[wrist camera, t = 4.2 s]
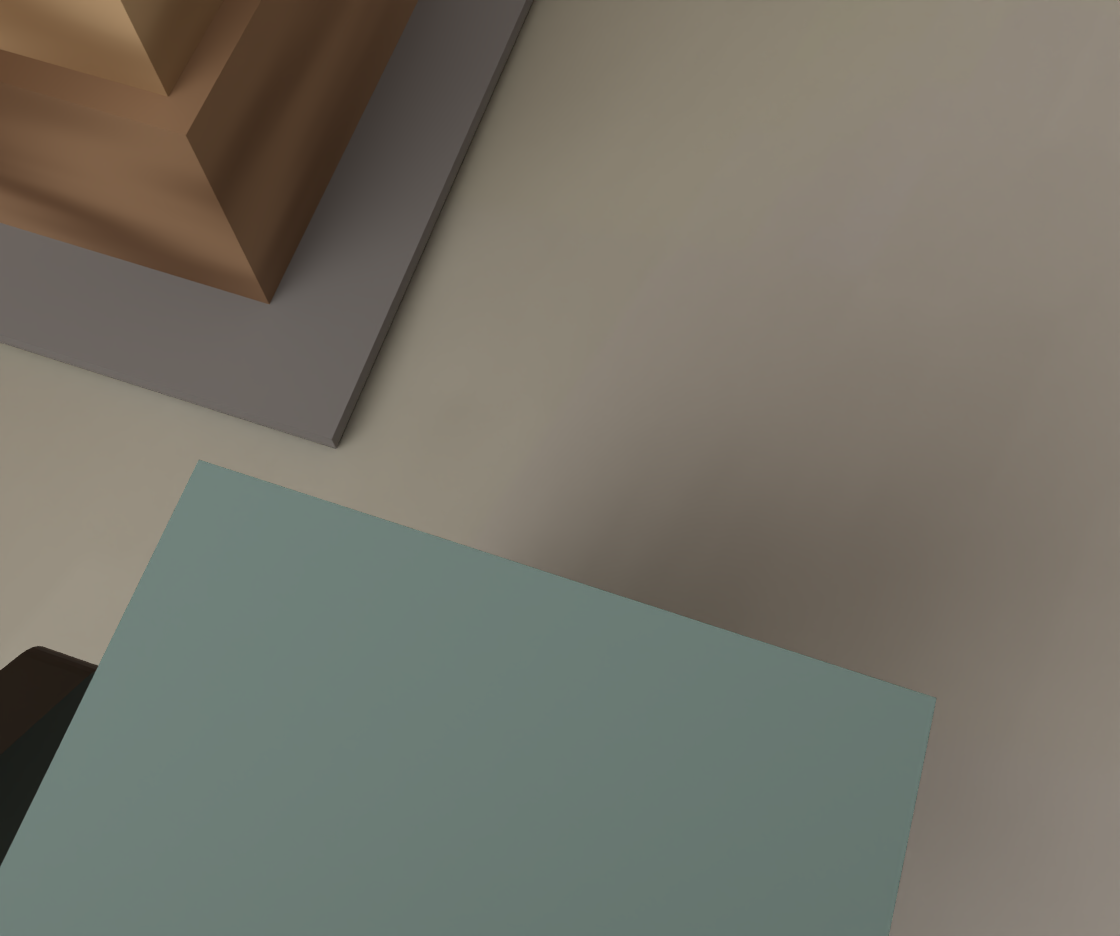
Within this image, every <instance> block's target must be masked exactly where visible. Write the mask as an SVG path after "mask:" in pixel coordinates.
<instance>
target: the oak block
mask: <svg viewBox="0 0 1120 936" xmlns="http://www.w3.org/2000/svg"><path fill="white" fill-rule="evenodd" d="M223 1H224V0H0V49H1V50H5V51H8V52H12V53H15V54H19V55H22V56H26V57H29V58H33V59H36V60H40V61H44V62H47V63H51V64H54V65H58V66H61V67H65V68H68V69H72V70H75V71H79V72H82V73H86V74H89V75H93V76H96V77H100V78H103V79H107V80H110V81H114V82H117V83H121V84H124V85H128V86H131V87H135V88H139V89H142V90H146V91H149V92H153V93H156V94H160V95H163V96H167V97H168V96H169V95H170V93H171V91H172V89H173V88H174V86H175V84H176V82H177V81H178V79H179V77H180V75H181V74H182V72H183V70H184V68H185V67H186V65H187V63H188V62H189V60H190V58H191V56H192V55H193V53H194V51H195V49H196V48H197V46H198V44H199V42H200V41H201V39H202V37H203V35H204V34H205V32H206V30H207V28H208V27H209V25H210V23H211V22H212V20H213V18H214V16H215V15H216V13H217V11H218V9H219V8H220V6H221V4H222V2H223Z"/></svg>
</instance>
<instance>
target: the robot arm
mask: <svg viewBox="0 0 1120 936" xmlns="http://www.w3.org/2000/svg"><path fill="white" fill-rule="evenodd" d="M97 668H98V666H97V665H94V664H92V663H89V662H86V661H83V660H80V659H77V658H74V657H71V656H68V655H66V654H63V653H60V652H57V651H54V650H51V649H48V648H45V647H43V646H37V647H32V648H30V649H28V650H26V651H25V652H23V653H22V654H20V655H19V656H18V657H17V658H15V659H14V660H13V661H12V662H10V663H9V664H8V665H7V666H5V667H4V668H3V669H2V670H0V866H1V864H2V862H3V860H4V858H5V856H6V854H7V852H8V850H9V848H10V846H11V844H12V842H13V840H14V838H15V836H16V834H17V832H18V830H19V828H20V825H21V823H22V821H23V819H24V817H25V815H26V813H27V811H28V809H29V807H30V805H31V803H32V801H33V799H34V797H35V795H36V793H37V791H38V789H39V787H40V784H41V782H42V780H43V778H44V776H45V774H46V772H47V770H48V768H49V766H50V764H51V762H52V760H53V758H54V756H55V754H56V752H57V750H58V748H59V746H60V744H61V741H62V739H63V737H64V735H65V733H66V731H67V729H68V727H69V725H70V723H71V721H72V719H73V717H74V715H75V713H76V711H77V709H78V707H79V705H80V703H81V700H82V698H83V696H84V694H85V692H86V690H87V688H88V686H89V684H90V682H91V680H92V678H93V676H94V674H95V672H96V670H97Z"/></svg>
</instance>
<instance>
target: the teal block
mask: <svg viewBox="0 0 1120 936" xmlns="http://www.w3.org/2000/svg"><path fill="white" fill-rule="evenodd" d="M935 703H936V698H935V697H932V696H929V695H926V694H923V693H920V692H916V691H913V690H910V689H907V688H904V687H901V686H898V685H895V684H892V683H889V682H886V681H882V680H879V679H876V678H873V677H870V676H867V675H864V674H861V673H858V672H855V671H851V670H848V669H845V668H842V667H839V666H836V665H833V664H830V663H827V662H824V661H821V660H817V659H814V658H811V657H808V656H805V655H802V654H799V653H796V652H793V651H790V650H786V649H783V648H780V647H777V646H774V645H771V644H768V643H765V642H762V641H759V640H756V639H752V638H749V637H746V636H743V635H740V634H737V633H734V632H731V631H728V630H725V629H721V628H718V627H715V626H712V625H709V624H706V623H703V622H700V621H697V620H694V619H691V618H687V617H684V616H681V615H678V614H675V613H672V612H669V611H666V610H663V609H660V608H656V607H653V606H650V605H647V604H644V603H641V602H638V601H635V600H632V599H629V598H626V597H622V596H619V595H616V594H613V593H610V592H607V591H604V590H601V589H598V588H595V587H591V586H588V585H585V584H582V583H579V582H576V581H573V580H570V579H567V578H564V577H561V576H557V575H554V574H551V573H548V572H545V571H542V570H539V569H536V568H533V567H530V566H526V565H523V564H520V563H517V562H514V561H511V560H508V559H505V558H502V557H499V556H496V555H492V554H489V553H486V552H483V551H480V550H477V549H474V548H471V547H468V546H465V545H462V544H458V543H455V542H452V541H449V540H446V539H443V538H440V537H437V536H434V535H431V534H427V533H424V532H421V531H418V530H415V529H412V528H409V527H406V526H403V525H400V524H397V523H393V522H390V521H387V520H384V519H381V518H378V517H375V516H372V515H369V514H366V513H362V512H359V511H356V510H353V509H350V508H347V507H344V506H341V505H338V504H335V503H332V502H328V501H325V500H322V499H319V498H316V497H313V496H310V495H307V494H304V493H301V492H297V491H294V490H291V489H288V488H285V487H282V486H279V485H276V484H273V483H270V482H267V481H263V480H260V479H257V478H254V477H251V476H248V475H245V474H242V473H239V472H236V471H232V470H229V469H226V468H223V467H220V466H217V465H214V464H211V463H208V462H205V461H202V460H199V461H198V463H197V465H196V467H195V469H194V471H193V473H192V475H191V477H190V479H189V481H188V483H187V485H186V487H185V489H184V491H183V493H182V495H181V498H180V500H179V502H178V504H177V506H176V508H175V510H174V512H173V514H172V516H171V518H170V520H169V522H168V524H167V526H166V528H165V530H164V532H163V534H162V536H161V539H160V541H159V543H158V545H157V547H156V549H155V551H154V553H153V555H152V557H151V559H150V561H149V563H148V565H147V567H146V569H145V571H144V573H143V575H142V577H141V580H140V582H139V584H138V586H137V588H136V590H135V592H134V594H133V596H132V598H131V600H130V602H129V604H128V606H127V608H126V610H125V612H124V614H123V616H122V618H121V621H120V623H119V625H118V627H117V629H116V631H115V633H114V635H113V637H112V639H111V641H110V643H109V645H108V647H107V649H106V651H105V653H104V655H103V657H102V659H101V662H100V664H99V666H98V668H97V670H96V672H95V674H94V676H93V678H92V680H91V682H90V684H89V686H88V688H87V690H86V692H85V694H84V696H83V698H82V700H81V703H80V705H79V707H78V709H77V711H76V713H75V715H74V717H73V719H72V721H71V723H70V725H69V727H68V729H67V731H66V733H65V735H64V737H63V739H62V741H61V744H60V746H59V748H58V750H57V752H56V754H55V756H54V758H53V760H52V762H51V764H50V766H49V768H48V770H47V772H46V774H45V776H44V778H43V780H42V782H41V784H40V787H39V789H38V791H37V793H36V795H35V797H34V799H33V801H32V803H31V805H30V807H29V809H28V811H27V813H26V815H25V817H24V819H23V821H22V823H21V825H20V828H19V830H18V832H17V834H16V836H15V838H14V840H13V842H12V844H11V846H10V848H9V850H8V852H7V854H6V856H5V858H4V860H3V862H2V864H1V866H0V936H889V932H890V927H891V922H892V917H893V912H894V907H895V902H896V897H897V892H898V887H899V882H900V877H901V872H902V867H903V862H904V857H905V853H906V848H907V843H908V838H909V833H910V828H911V823H912V818H913V813H914V808H915V803H916V798H917V793H918V788H919V783H920V778H921V773H922V768H923V763H924V758H925V753H926V748H927V743H928V738H929V733H930V728H931V723H932V718H933V713H934V708H935Z"/></svg>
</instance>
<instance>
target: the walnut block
mask: <svg viewBox="0 0 1120 936" xmlns="http://www.w3.org/2000/svg"><path fill="white" fill-rule="evenodd" d="M417 2H418V0H224V1H223V2H222V4H221V6H220V8H219V9H218V11H217V13H216V15H215V16H214V18H213V20H212V22H211V23H210V25H209V27H208V28H207V30H206V32H205V34H204V35H203V37H202V39H201V41H200V42H199V44H198V46H197V48H196V49H195V51H194V53H193V55H192V56H191V58H190V60H189V62H188V63H187V65H186V67H185V68H184V70H183V72H182V74H181V75H180V77H179V79H178V81H177V82H176V84H175V86H174V88H173V89H172V91H171V93H170V95H169V96H168V97H167V96H163V95H160V94H156V93H153V92H149V91H146V90H142V89H139V88H135V87H131V86H128V85H124V84H121V83H117V82H114V81H110V80H107V79H103V78H100V77H96V76H93V75H89V74H86V73H82V72H79V71H75V70H72V69H68V68H65V67H61V66H58V65H54V64H51V63H47V62H44V61H40V60H36V59H33V58H29V57H26V56H22V55H19V54H15V53H12V52H8V51H5V50H1V49H0V223H3V224H6V225H9V226H13V227H16V228H19V229H23V230H26V231H29V232H32V233H36V234H39V235H42V236H46V237H49V238H52V239H55V240H59V241H62V242H65V243H69V244H72V245H75V246H78V247H82V248H85V249H88V250H92V251H95V252H98V253H102V254H105V255H108V256H111V257H115V258H118V259H121V260H125V261H128V262H131V263H134V264H138V265H141V266H144V267H148V268H151V269H154V270H158V271H161V272H164V273H167V274H171V275H174V276H177V277H181V278H184V279H187V280H190V281H194V282H197V283H200V284H204V285H207V286H210V287H214V288H217V289H220V290H223V291H227V292H230V293H233V294H237V295H240V296H243V297H246V298H250V299H253V300H256V301H260V302H263V303H266V304H270V302H271V300H272V298H273V296H274V294H275V292H276V290H277V288H278V286H279V284H280V282H281V280H282V278H283V275H284V273H285V271H286V269H287V267H288V265H289V263H290V261H291V259H292V257H293V255H294V253H295V251H296V249H297V247H298V245H299V243H300V241H301V239H302V237H303V235H304V233H305V231H306V229H307V227H308V224H309V222H310V220H311V218H312V216H313V214H314V212H315V210H316V208H317V206H318V204H319V202H320V200H321V198H322V196H323V194H324V192H325V190H326V188H327V186H328V184H329V182H330V180H331V178H332V175H333V173H334V171H335V169H336V167H337V165H338V163H339V161H340V159H341V157H342V155H343V153H344V151H345V149H346V147H347V145H348V143H349V141H350V139H351V137H352V135H353V133H354V131H355V129H356V126H357V124H358V122H359V120H360V118H361V116H362V114H363V112H364V110H365V108H366V106H367V104H368V102H369V100H370V98H371V96H372V94H373V92H374V90H375V88H376V86H377V84H378V82H379V80H380V77H381V75H382V73H383V71H384V69H385V67H386V65H387V63H388V61H389V59H390V57H391V55H392V53H393V51H394V49H395V47H396V45H397V43H398V41H399V39H400V37H401V35H402V33H403V31H404V29H405V26H406V24H407V22H408V20H409V18H410V16H411V14H412V12H413V10H414V8H415V6H416V4H417Z"/></svg>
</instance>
